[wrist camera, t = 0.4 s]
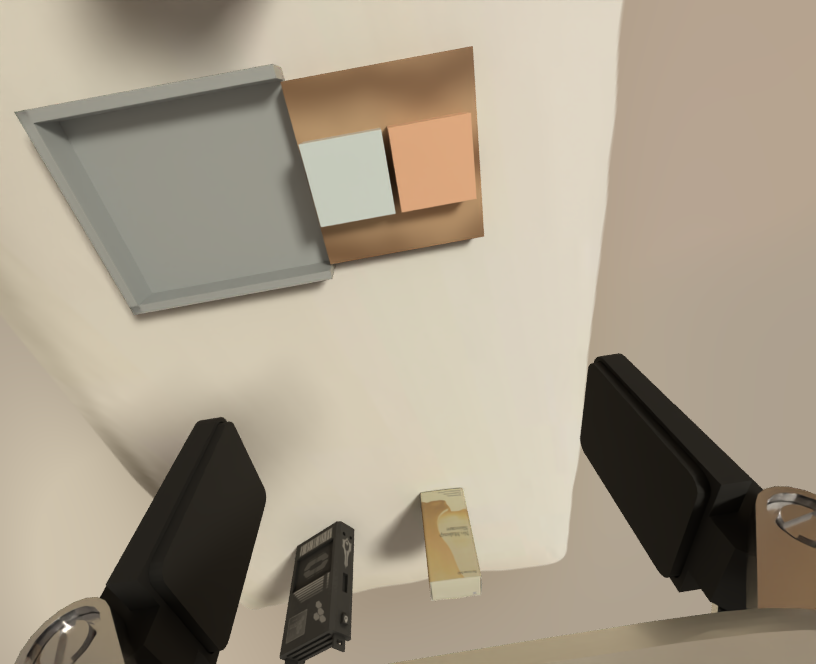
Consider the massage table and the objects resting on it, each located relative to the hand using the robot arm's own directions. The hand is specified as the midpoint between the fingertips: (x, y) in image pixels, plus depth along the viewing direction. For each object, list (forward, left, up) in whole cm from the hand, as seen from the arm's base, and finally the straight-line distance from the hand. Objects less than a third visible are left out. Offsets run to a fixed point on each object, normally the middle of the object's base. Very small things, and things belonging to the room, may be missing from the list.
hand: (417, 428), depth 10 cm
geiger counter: (+47, -18, -29) cm, 58 cm away
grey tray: (-3, -15, -28) cm, 32 cm away
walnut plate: (-3, +1, -28) cm, 29 cm away
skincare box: (+42, 0, -29) cm, 51 cm away
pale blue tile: (-3, -2, -26) cm, 27 cm away
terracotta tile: (-3, +4, -26) cm, 27 cm away
